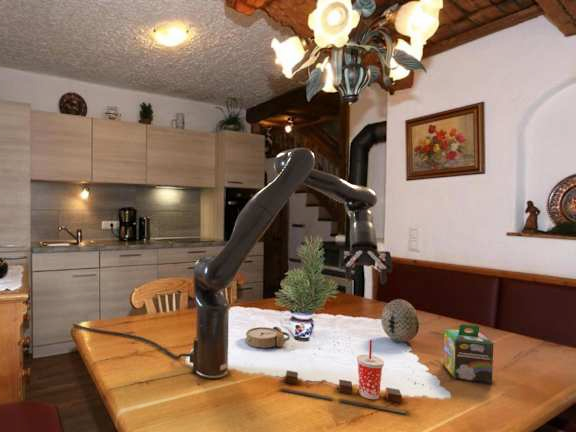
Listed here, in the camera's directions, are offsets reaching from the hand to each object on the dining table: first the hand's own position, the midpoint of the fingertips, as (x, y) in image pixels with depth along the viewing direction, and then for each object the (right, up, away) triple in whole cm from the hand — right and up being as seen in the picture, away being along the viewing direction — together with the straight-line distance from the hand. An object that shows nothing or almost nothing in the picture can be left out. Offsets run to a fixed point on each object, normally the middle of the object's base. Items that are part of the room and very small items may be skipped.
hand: (366, 281), depth 101 cm
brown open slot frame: (-6, -27, -14) cm, 31 cm away
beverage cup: (-5, -27, -11) cm, 30 cm away
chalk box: (+29, -27, +1) cm, 40 cm away
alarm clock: (-23, -26, +22) cm, 41 cm away
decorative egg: (+25, -27, +26) cm, 45 cm away
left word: (-20, -27, -8) cm, 34 cm away
